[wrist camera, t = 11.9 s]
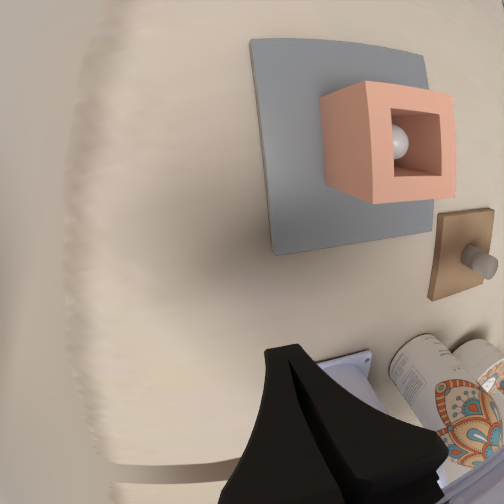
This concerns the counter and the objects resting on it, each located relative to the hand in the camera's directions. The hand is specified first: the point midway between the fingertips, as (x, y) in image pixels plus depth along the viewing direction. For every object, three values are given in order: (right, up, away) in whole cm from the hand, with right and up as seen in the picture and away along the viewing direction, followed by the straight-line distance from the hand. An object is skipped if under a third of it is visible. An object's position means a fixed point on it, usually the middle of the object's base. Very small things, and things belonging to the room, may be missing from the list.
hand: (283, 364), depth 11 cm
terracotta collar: (+6, +12, +6) cm, 14 cm away
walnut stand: (+19, +5, +12) cm, 22 cm away
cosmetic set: (+25, -9, +18) cm, 32 cm away
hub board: (+6, +12, +7) cm, 15 cm away
